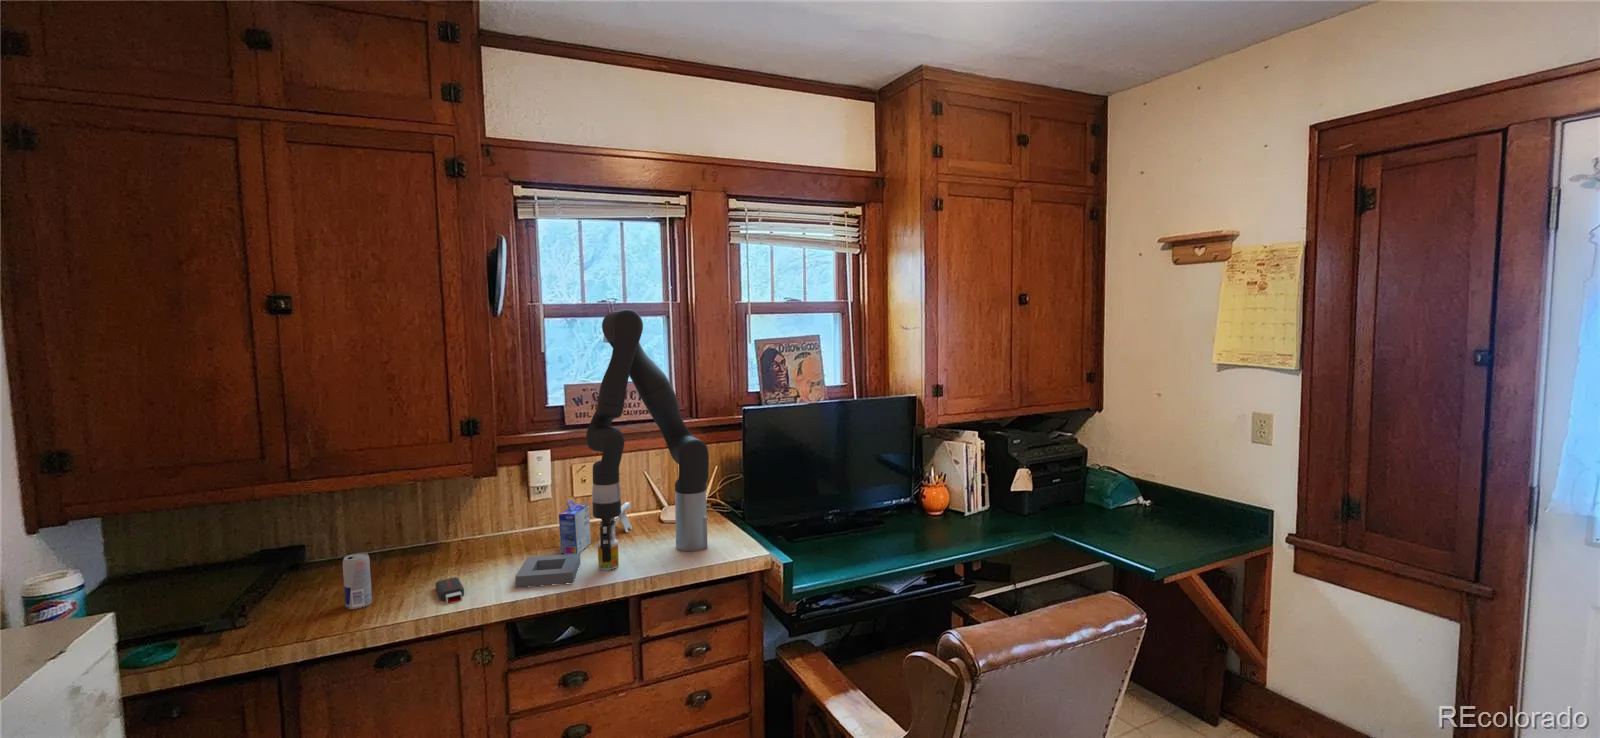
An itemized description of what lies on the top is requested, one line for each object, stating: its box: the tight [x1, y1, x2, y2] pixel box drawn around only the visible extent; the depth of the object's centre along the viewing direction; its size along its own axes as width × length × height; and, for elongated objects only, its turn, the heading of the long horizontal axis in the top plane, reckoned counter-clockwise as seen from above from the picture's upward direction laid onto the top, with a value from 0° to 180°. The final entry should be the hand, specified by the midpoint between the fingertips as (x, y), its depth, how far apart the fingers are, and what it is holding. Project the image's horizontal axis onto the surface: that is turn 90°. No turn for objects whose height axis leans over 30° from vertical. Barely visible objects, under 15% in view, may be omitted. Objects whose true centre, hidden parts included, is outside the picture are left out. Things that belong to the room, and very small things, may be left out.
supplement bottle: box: [597, 531, 620, 571], centre depth 183 cm, size 5×5×10 cm
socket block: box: [515, 553, 581, 589], centre depth 177 cm, size 14×14×3 cm
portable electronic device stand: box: [615, 501, 633, 534], centre depth 214 cm, size 9×8×8 cm
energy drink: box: [342, 552, 373, 610], centre depth 159 cm, size 5×5×12 cm
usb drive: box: [435, 576, 465, 605], centre depth 166 cm, size 5×12×3 cm, turn 36°
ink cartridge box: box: [558, 499, 592, 555], centre depth 197 cm, size 10×6×14 cm, turn 174°
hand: (608, 556), depth 183 cm, fingers open, 8 cm apart
